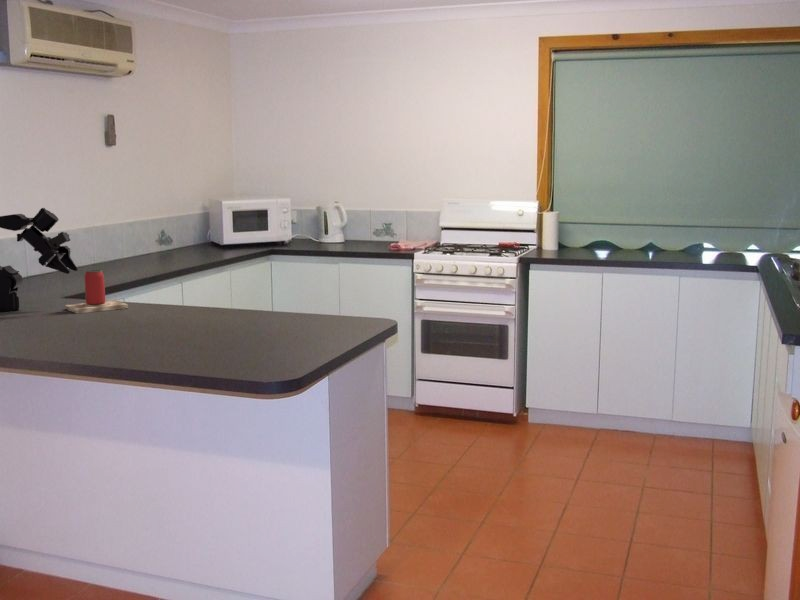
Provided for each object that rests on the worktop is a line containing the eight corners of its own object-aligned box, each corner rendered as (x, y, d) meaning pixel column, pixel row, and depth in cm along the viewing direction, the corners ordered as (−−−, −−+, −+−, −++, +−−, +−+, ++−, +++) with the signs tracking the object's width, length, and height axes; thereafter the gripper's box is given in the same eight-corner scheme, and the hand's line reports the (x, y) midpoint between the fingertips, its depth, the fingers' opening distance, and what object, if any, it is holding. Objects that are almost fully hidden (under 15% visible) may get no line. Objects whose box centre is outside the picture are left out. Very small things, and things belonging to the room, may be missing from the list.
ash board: (76, 313, 293) (76, 308, 293) (65, 309, 303) (65, 304, 303) (127, 308, 304) (127, 303, 304) (115, 304, 314) (115, 299, 314)
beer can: (83, 303, 304) (81, 270, 302) (101, 302, 308) (99, 269, 306) (89, 305, 299) (87, 272, 297) (108, 303, 303) (106, 270, 301)
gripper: (45, 226, 289) (80, 257, 291) (62, 223, 307) (95, 253, 310) (23, 249, 289) (58, 280, 292) (42, 245, 308) (75, 274, 310)
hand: (73, 271), depth 301 cm, fingers open, 9 cm apart
